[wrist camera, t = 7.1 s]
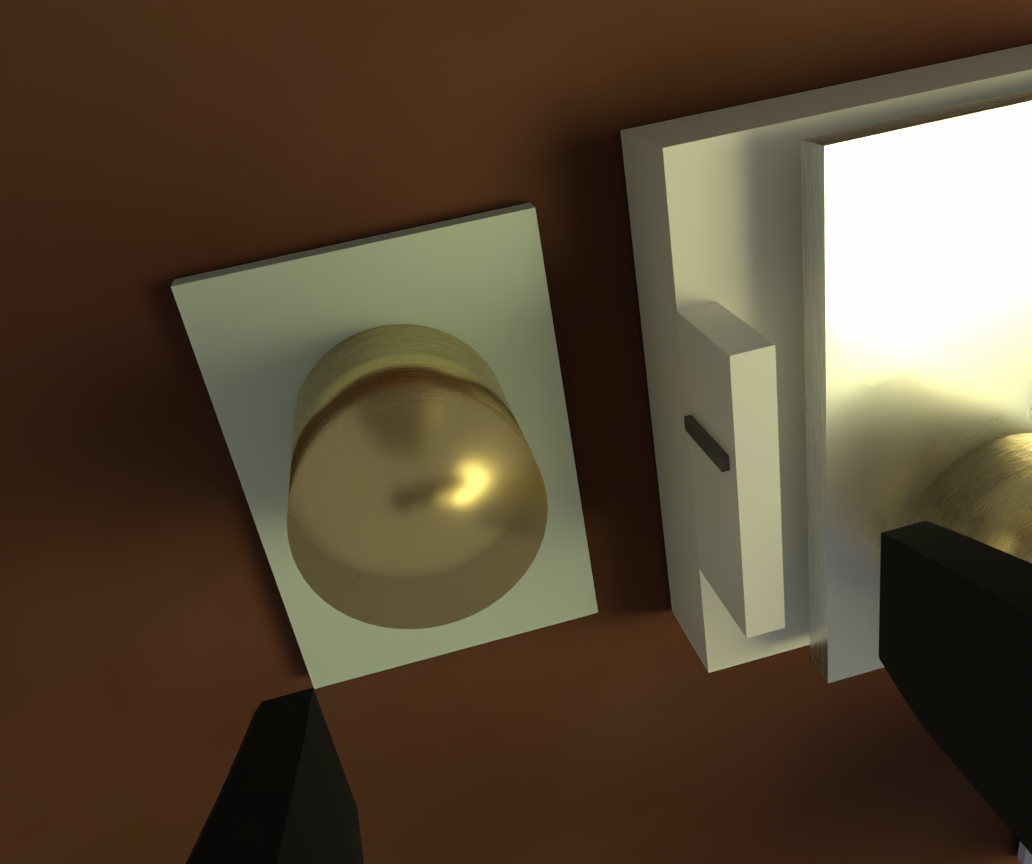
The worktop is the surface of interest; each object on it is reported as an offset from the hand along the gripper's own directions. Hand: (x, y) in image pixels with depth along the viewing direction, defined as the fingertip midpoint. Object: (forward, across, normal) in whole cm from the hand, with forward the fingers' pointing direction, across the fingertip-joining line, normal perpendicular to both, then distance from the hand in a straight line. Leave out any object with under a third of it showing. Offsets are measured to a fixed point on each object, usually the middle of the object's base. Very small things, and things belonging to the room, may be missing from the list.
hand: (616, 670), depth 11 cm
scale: (+9, -8, +1) cm, 13 cm away
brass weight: (+9, +2, 0) cm, 9 cm away
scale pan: (+7, -9, +1) cm, 12 cm away
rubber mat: (+9, +2, +1) cm, 10 cm away
